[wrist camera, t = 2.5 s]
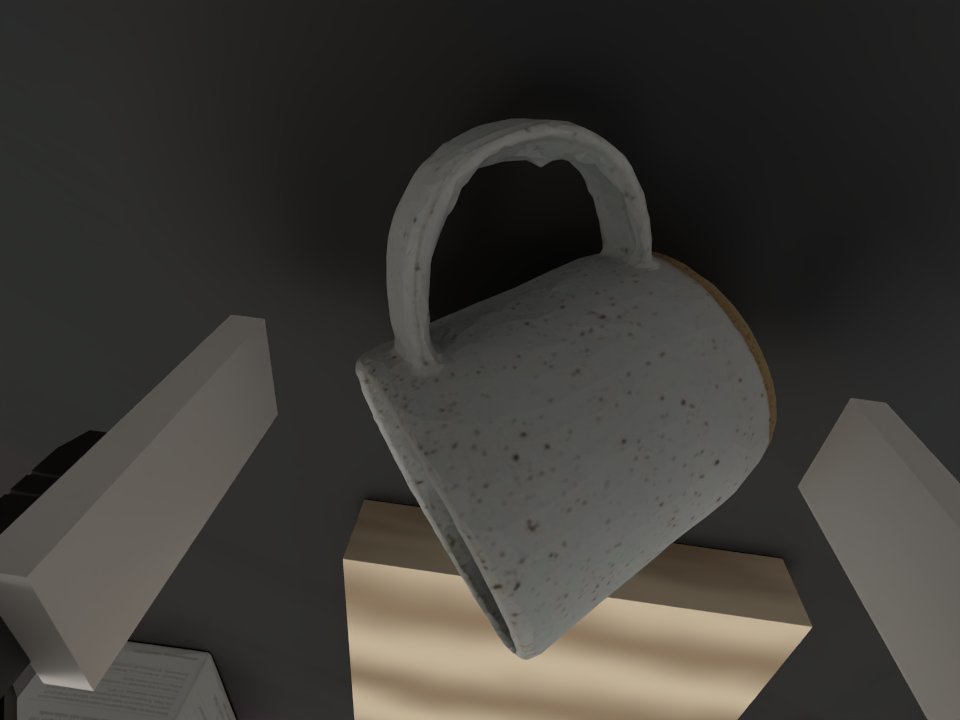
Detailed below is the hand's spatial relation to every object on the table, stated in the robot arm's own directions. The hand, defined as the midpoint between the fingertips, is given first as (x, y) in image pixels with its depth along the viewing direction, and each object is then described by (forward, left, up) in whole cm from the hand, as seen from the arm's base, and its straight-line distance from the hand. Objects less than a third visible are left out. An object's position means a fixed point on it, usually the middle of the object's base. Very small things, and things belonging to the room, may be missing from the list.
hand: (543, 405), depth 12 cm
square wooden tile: (+20, +3, -6) cm, 21 cm away
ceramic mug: (0, 0, -6) cm, 6 cm away
